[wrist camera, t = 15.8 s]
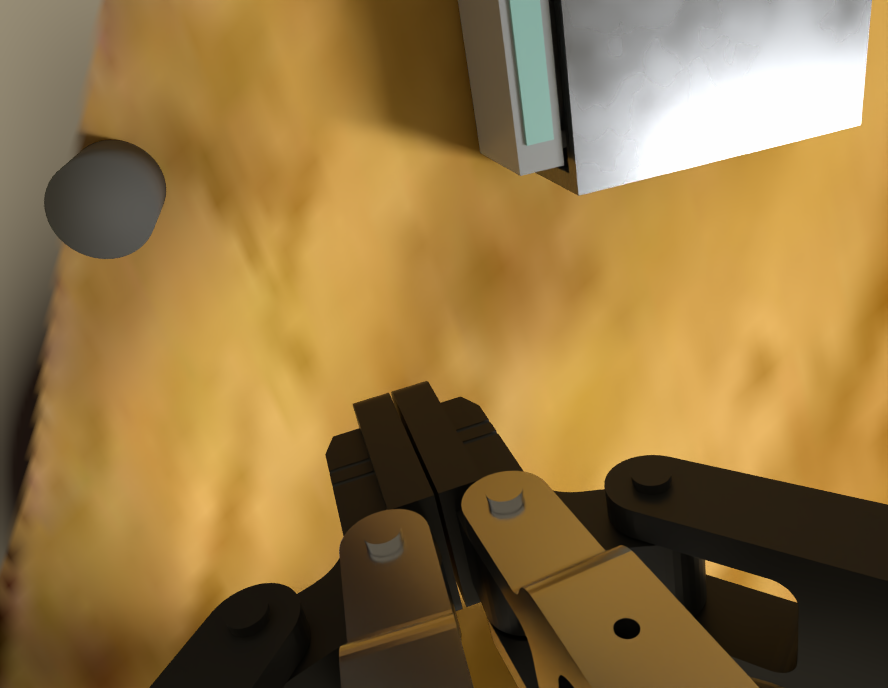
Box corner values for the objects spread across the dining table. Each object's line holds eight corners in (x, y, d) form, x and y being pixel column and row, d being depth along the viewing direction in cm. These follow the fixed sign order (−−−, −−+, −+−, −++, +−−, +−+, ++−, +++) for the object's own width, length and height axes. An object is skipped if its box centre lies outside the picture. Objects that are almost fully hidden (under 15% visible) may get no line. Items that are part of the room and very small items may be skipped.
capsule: (178, 218, 33) (170, 245, 29) (89, 238, 33) (69, 269, 29) (147, 131, 32) (134, 147, 28) (53, 151, 31) (26, 171, 27)
